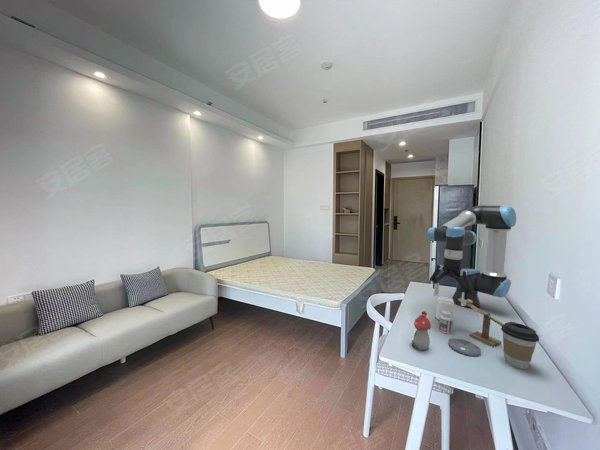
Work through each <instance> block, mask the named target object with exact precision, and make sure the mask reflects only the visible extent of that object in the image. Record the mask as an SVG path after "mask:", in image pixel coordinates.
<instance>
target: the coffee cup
mask: <svg viewBox="0 0 600 450" xmlns="http://www.w3.org/2000/svg"><path fill="white" fill-rule="evenodd" d="M513 322H514V321H508V322H505V323H504V324H505V325H503V326H501V328H500V330H501V331H502V339H503V340H502V343H503V346H502V347H503V358H504V362H505V363H506V364H508V365H510V366H512V367H514V368H516V369H521V370H526V369H528V368H529V366H530V363H531V361H532V358H533V354H534V352H535V348H536V345H537V342H539V341H540V336H539V334H538V333H537V331H536V329H534V328H532V327H530V326H527V325H524V324H523V323H522V324H521V323H517V322H516V323H513Z"/></svg>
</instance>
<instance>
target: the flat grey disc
mask: <svg viewBox="0 0 600 450" xmlns="http://www.w3.org/2000/svg"><path fill="white" fill-rule="evenodd" d="M447 346H448V347H449V348H450V349H451V350H452V351H454V352H456V353H458V354H460V355H463V356H467V357H474V358H477V357H479V355H480V354H482V349H481V348H480V347H479V346H478V345H477V344H476V343H473V342H471V341H469V340H466V339H463V338H456V337H455V338H449V339H448V342H447ZM476 356H477V357H476ZM480 356H481V355H480Z"/></svg>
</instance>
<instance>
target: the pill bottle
mask: <svg viewBox="0 0 600 450" xmlns="http://www.w3.org/2000/svg"><path fill="white" fill-rule="evenodd" d="M438 322H439V324H438V330H439V331H440V332H441V333H444V334H451V333H452V325H453V321H452V318H451V313H450V312H448V311H442V315H440V320H439V321H438Z"/></svg>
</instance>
